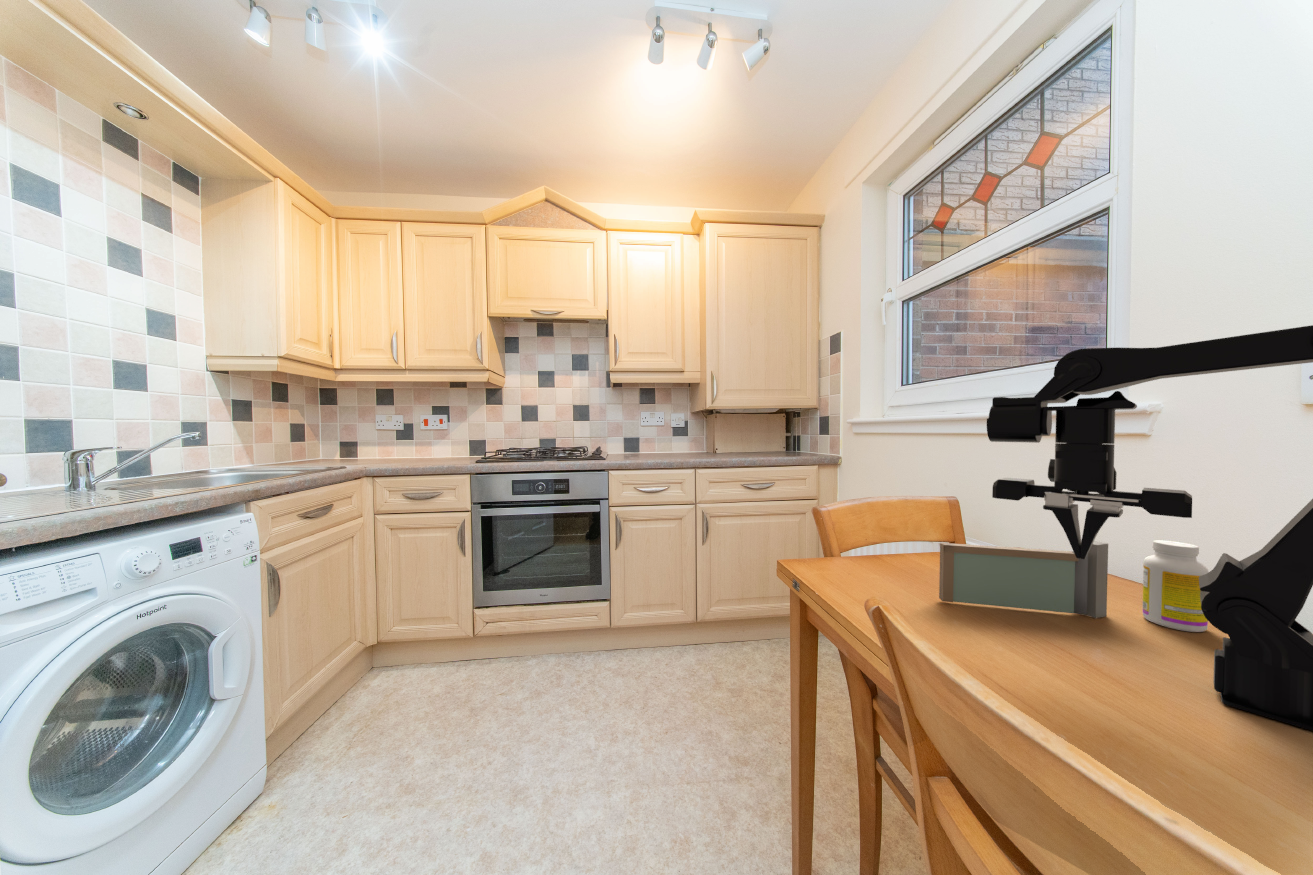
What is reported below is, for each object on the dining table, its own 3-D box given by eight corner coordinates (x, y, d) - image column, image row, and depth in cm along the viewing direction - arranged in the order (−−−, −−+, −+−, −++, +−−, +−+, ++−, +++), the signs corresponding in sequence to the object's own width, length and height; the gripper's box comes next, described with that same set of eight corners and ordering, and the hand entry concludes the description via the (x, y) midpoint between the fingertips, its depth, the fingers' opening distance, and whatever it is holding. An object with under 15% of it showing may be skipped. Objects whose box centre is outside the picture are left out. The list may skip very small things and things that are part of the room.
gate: (1081, 611, 72) (1082, 551, 72) (1089, 615, 70) (1091, 555, 70) (938, 597, 77) (939, 542, 77) (943, 601, 75) (944, 545, 75)
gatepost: (1083, 608, 74) (1085, 539, 74) (1106, 615, 71) (1108, 543, 71) (1072, 611, 73) (1074, 540, 73) (1095, 618, 70) (1097, 544, 70)
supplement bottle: (1222, 634, 65) (1224, 549, 65) (1177, 633, 65) (1179, 548, 65) (1170, 615, 72) (1172, 538, 72) (1129, 614, 72) (1131, 537, 72)
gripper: (1192, 445, 56) (1189, 564, 57) (1011, 441, 71) (1009, 536, 71) (1193, 446, 49) (1190, 582, 50) (992, 442, 64) (990, 547, 64)
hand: (1080, 558), depth 59 cm, fingers closed
